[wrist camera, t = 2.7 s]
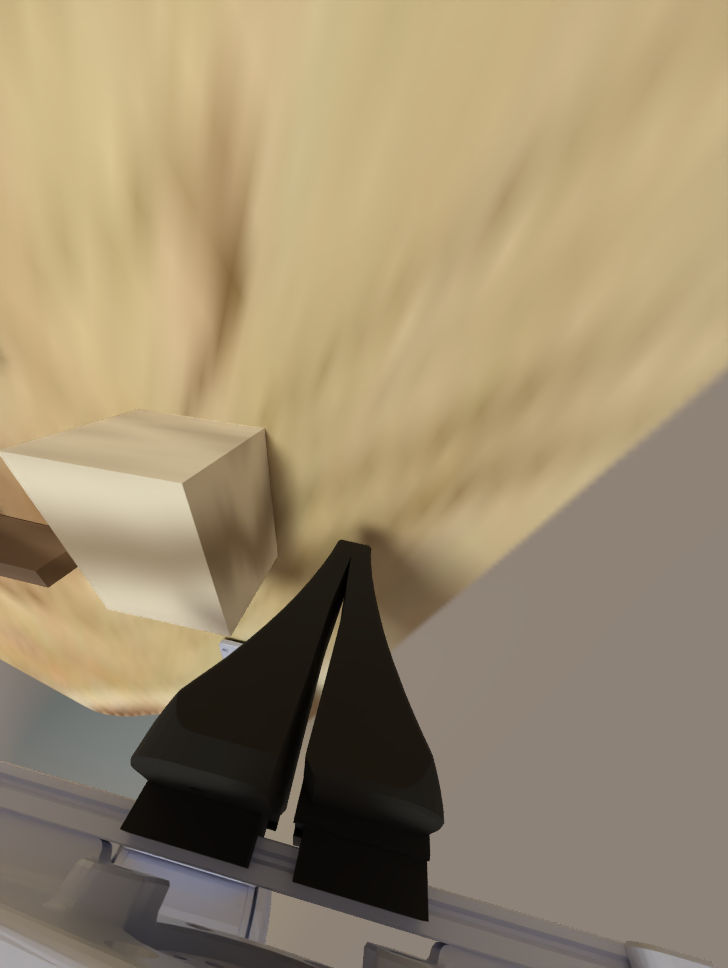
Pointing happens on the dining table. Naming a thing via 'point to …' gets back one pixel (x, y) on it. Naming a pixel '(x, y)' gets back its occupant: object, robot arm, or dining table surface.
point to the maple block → (158, 512)
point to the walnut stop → (32, 553)
